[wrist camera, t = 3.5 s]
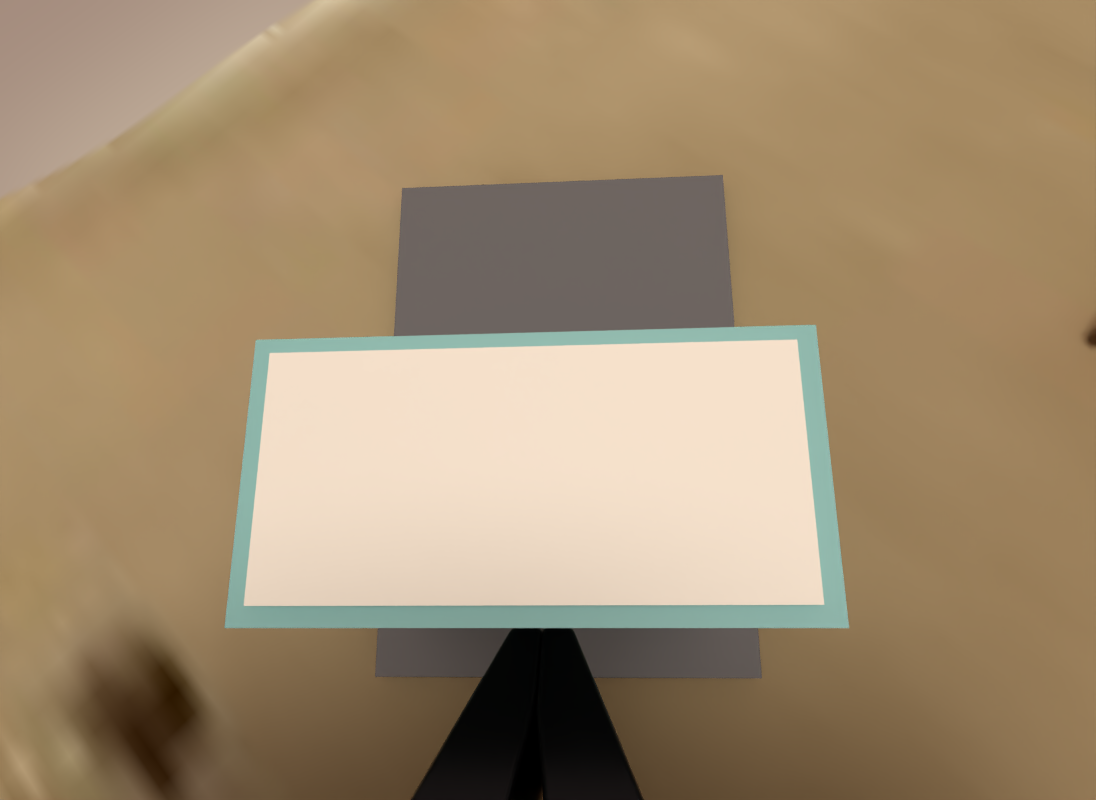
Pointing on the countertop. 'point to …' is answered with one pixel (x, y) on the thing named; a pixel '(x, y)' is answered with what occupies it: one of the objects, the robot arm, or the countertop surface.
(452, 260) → the mat
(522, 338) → the teal box cream top
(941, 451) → the countertop surface
